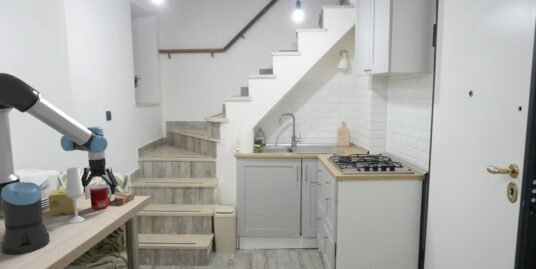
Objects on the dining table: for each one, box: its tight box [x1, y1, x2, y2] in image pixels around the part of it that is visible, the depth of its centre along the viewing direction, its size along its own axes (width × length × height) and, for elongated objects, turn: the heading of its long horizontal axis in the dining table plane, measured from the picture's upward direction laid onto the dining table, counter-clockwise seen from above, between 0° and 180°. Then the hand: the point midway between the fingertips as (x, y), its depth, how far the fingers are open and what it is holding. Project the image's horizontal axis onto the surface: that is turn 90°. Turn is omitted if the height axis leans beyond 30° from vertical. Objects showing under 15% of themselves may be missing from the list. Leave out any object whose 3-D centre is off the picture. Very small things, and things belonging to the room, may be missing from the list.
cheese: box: [48, 188, 75, 216], centre depth 167 cm, size 10×11×10 cm
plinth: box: [108, 192, 135, 206], centre depth 182 cm, size 10×10×3 cm
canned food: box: [90, 183, 109, 211], centre depth 172 cm, size 8×8×11 cm
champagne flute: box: [65, 166, 86, 224], centre depth 154 cm, size 7×7×24 cm
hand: (100, 199), depth 172 cm, fingers open, 13 cm apart
